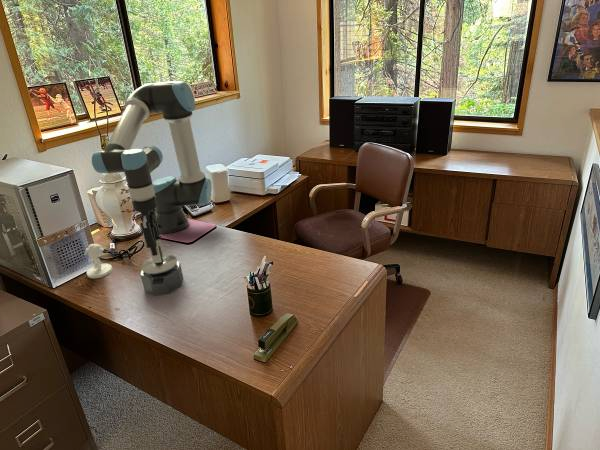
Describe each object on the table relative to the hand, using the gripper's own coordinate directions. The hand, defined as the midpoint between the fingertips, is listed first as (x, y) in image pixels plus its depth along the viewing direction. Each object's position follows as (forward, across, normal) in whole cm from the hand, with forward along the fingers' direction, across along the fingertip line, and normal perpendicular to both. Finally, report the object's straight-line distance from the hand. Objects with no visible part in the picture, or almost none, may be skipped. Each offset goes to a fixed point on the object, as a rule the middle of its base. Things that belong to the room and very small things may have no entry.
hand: (158, 259), depth 150 cm
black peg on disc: (+2, 0, 0) cm, 2 cm away
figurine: (+11, -16, -27) cm, 33 cm away
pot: (+11, 0, 0) cm, 11 cm away
